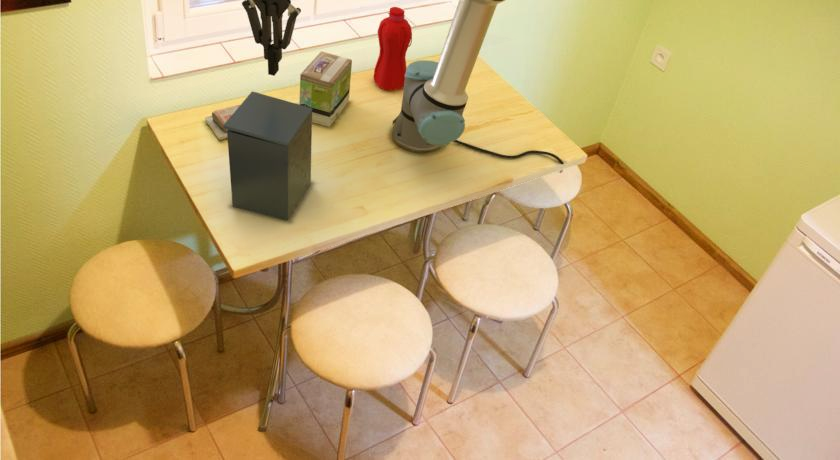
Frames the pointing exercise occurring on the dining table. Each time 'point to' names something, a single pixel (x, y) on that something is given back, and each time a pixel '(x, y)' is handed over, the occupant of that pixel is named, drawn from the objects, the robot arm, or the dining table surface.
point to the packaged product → (220, 121)
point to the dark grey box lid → (268, 118)
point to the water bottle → (392, 50)
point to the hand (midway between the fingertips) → (273, 72)
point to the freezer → (270, 172)
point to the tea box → (326, 87)
